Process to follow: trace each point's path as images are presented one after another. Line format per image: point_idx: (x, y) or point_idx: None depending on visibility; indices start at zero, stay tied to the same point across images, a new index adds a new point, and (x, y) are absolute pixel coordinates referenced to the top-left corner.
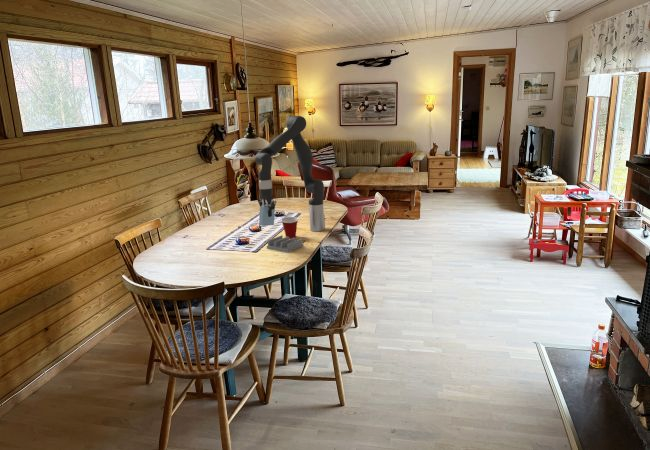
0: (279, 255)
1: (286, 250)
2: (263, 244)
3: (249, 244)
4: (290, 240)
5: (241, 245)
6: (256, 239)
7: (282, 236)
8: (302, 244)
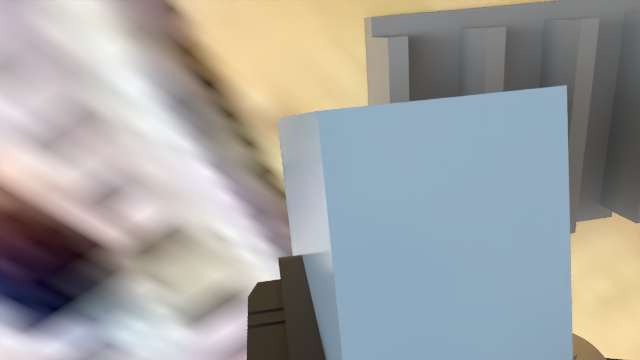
0: (574, 284)
1: (594, 216)
2: (252, 183)
3: (136, 258)
4: (583, 103)
5: (102, 316)
6: (25, 109)
7: (404, 36)
8: (635, 9)
